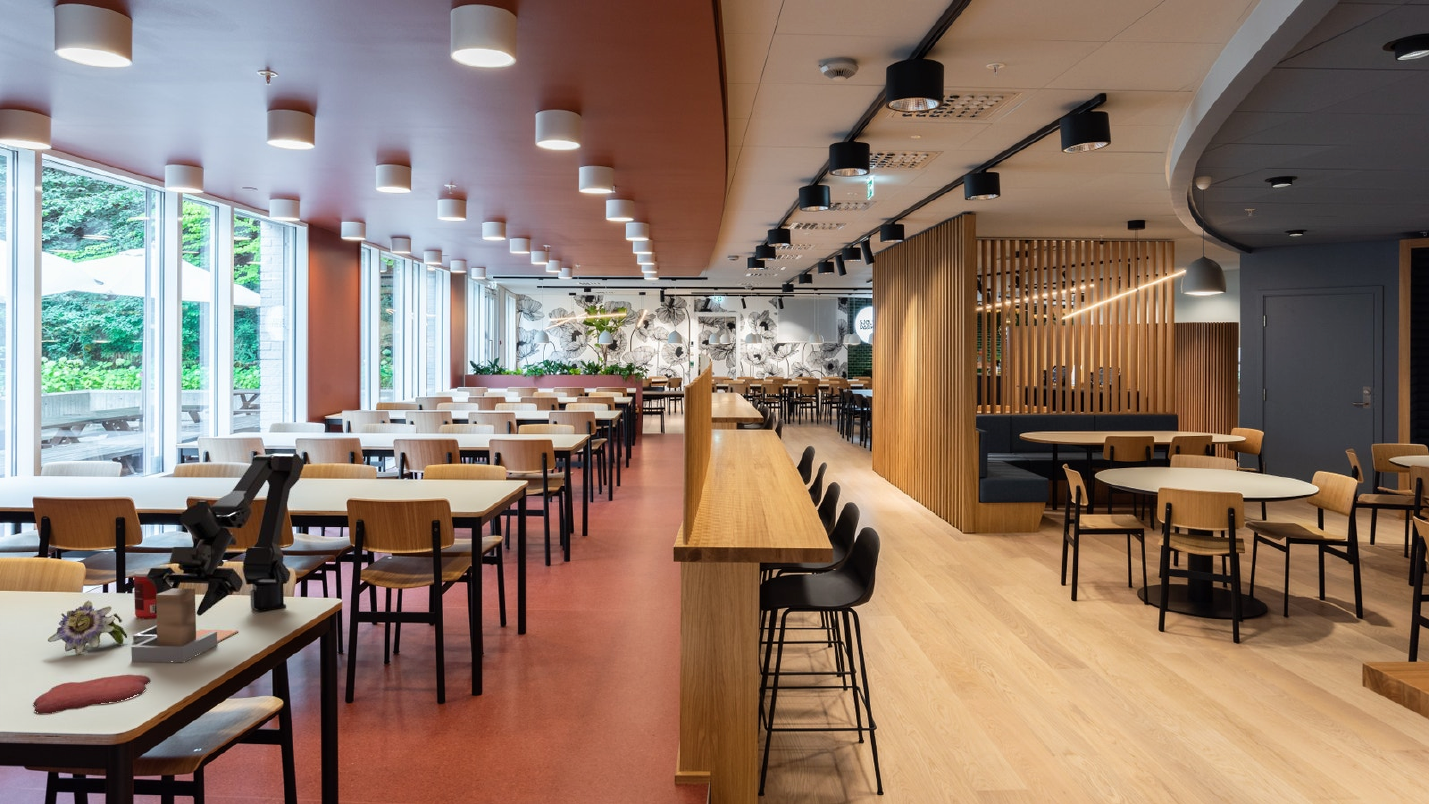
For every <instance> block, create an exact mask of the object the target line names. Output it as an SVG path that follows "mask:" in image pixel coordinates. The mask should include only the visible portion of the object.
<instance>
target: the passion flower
mask: <svg viewBox="0 0 1429 804" xmlns="http://www.w3.org/2000/svg"><path fill="white" fill-rule="evenodd" d="M92 602H93V601H90V600H86V601H85V602H84V604H83V605H82V606H79V607H78V608H75V610H74V609H73V610H72V609H71V610H68V611H66V614H64V613H61V616H62V617H61V620H60V621H59V622H58V625H59V627H57V630H56V632H55V633H54V634H53V635H51V636H50V637H48V639H47V642H49V643H52V642H53V643H54V642H57V641H60V640H62V641H63V642H65V646H64V651H65V652H69V651H72V650H74V652H75V655H76V656H79V655H81V654H82V653H83V652H84V651H85V648H86V645H87V644H89V645H90V646H91V647H93V648H97V647H99V645H100V643H101V635H102V634H104V633H105V634H106V633H107V634H109V635H110V636H111V638H112V639H114V641H115V642H116V644H117V645H120V644H122V645H123V644H124V638H125V639H127V638H128V635H127V633H126V631H125V630H124V628H123V627H122V626H120V625H119V624H117V623H116V622H114V621H115V620H116V619H117V620H118V622H119V623H122V622H123V619H122V618H121V617H120V615H119V614H118V613H114V614H111V615H110V616H106V615H108V614H109V613H110V612H111V611H112V606H111V605H108V606H105V607H102V608H100V609H96V610H95V608H93V607H94V606H93V603H92ZM123 636H124V637H123Z"/></svg>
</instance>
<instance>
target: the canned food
mask: <svg viewBox="0 0 1429 804" xmlns="http://www.w3.org/2000/svg"><path fill="white" fill-rule="evenodd" d="M153 567H154V566H151V567H145V568H141V569H138V570H136V571H134V572H133V590H134V591H133V593H134V595H133V596H134V615H135V617H136V619H138V620H155V619H156V620H157V614H156V613H155V604H156V594H157V592H156V586H155V585H154V584H153V583H152V582H151V581H150V580H149V579H148V578H147V577H146V576H147V574H148V572H149V571H150V569H151V568H153ZM161 567H166V566H161ZM171 569H172V570H173V567H171Z"/></svg>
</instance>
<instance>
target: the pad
mask: <svg viewBox="0 0 1429 804" xmlns="http://www.w3.org/2000/svg"><path fill="white" fill-rule="evenodd" d="M211 632H217V644H218V643H219V642H222V641H224V640H226V639H227V638H226V637H228V636H230V637H231V636H234V635H236V634H238V633H239V630H237V629H235V630H233V629H231V630H229V629H199V630H196V639H198V638H200V637H202V636H204V635H206V634H208V633H211ZM237 632H238V633H237ZM235 633H236V634H235ZM233 634H234V635H233ZM225 638H226V639H225ZM228 638H229V637H228ZM223 639H224V640H223ZM221 640H222V641H221Z"/></svg>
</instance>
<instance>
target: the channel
mask: <svg viewBox="0 0 1429 804" xmlns="http://www.w3.org/2000/svg"><path fill="white" fill-rule="evenodd" d="M215 645H217V646H218V643H217V632H211V633H208V634H206V635H204V636H202V637H200V638H198V639H196V640H194V641H192V642H190V643H188V644H186V645H184V646H182V647H177V646H157V636H155V637H152V638H150V639H148V640H146V641H144V642H138V643H136V644H134V645H133V646H131V662H136V663H137V662H141V663H143V662H144V663H145V662H146V663H171V661H173V662H184V661H186V662H188V661H189V659H190V658H192V657H194V656H195V655H197V654H199V653H201V652H203V653H205V652H207V651H209V650H210V648H211V649H213V648H215V647H216V646H215ZM214 646H215V647H214ZM212 647H213V648H212ZM201 654H202V653H201ZM199 655H200V654H199ZM197 656H198V655H197ZM194 658H195V657H194ZM192 659H193V658H192ZM187 660H188V661H187ZM190 660H191V659H190ZM184 663H185V662H184Z"/></svg>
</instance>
